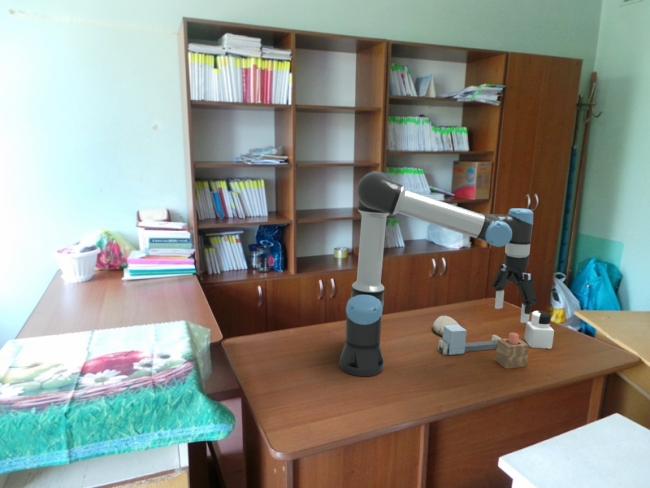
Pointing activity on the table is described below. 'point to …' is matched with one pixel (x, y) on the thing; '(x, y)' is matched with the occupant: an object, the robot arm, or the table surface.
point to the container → (539, 330)
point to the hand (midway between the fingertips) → (510, 315)
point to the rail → (471, 345)
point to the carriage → (455, 338)
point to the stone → (443, 324)
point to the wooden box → (511, 354)
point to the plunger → (513, 338)
